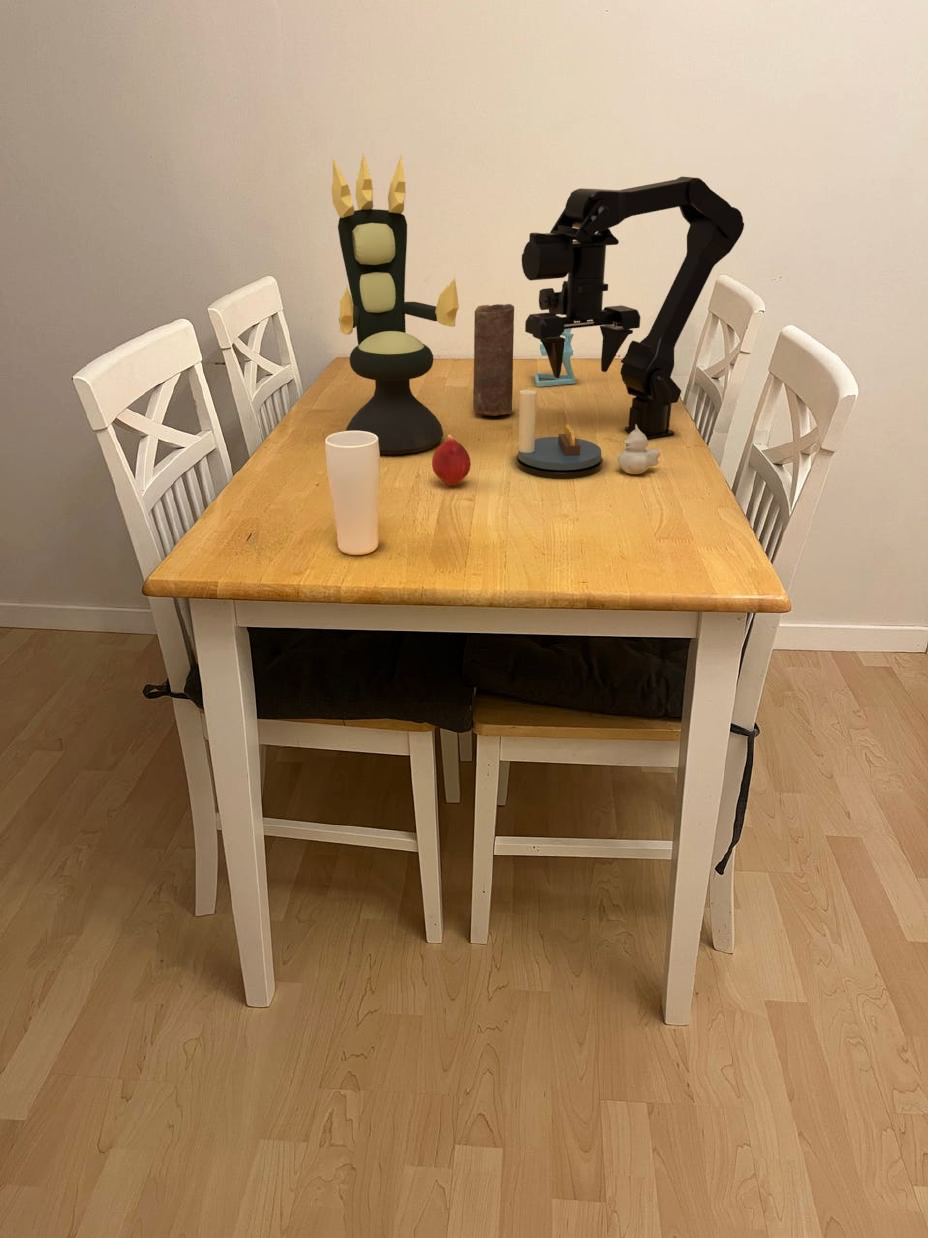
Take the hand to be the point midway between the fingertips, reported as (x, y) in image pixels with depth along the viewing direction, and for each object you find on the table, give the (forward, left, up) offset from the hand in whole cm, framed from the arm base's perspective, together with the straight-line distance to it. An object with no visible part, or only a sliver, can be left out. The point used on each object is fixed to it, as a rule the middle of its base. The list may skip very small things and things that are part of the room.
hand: (580, 374), depth 160 cm
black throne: (+28, -17, -12) cm, 35 cm away
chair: (-18, -38, -12) cm, 44 cm away
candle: (+5, -22, -12) cm, 26 cm away
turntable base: (+8, +8, -12) cm, 16 cm away
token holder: (+8, +8, -11) cm, 15 cm away
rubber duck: (-1, +17, -12) cm, 21 cm away
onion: (+28, +9, -12) cm, 32 cm away
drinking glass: (+49, +25, -12) cm, 56 cm away
